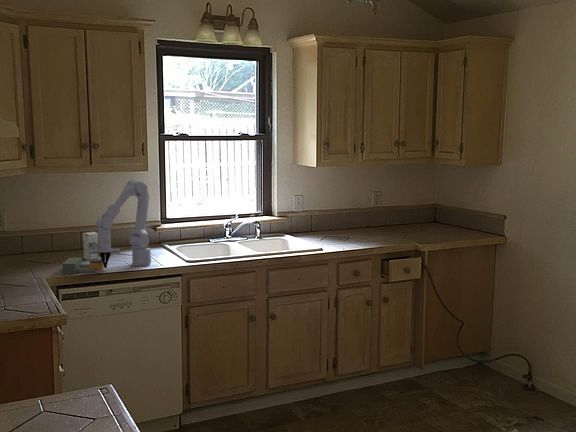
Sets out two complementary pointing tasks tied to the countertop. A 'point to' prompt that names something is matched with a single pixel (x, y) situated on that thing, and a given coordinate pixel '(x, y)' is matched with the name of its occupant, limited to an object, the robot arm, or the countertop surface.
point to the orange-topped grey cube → (97, 264)
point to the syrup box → (90, 245)
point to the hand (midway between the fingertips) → (105, 267)
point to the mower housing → (76, 266)
